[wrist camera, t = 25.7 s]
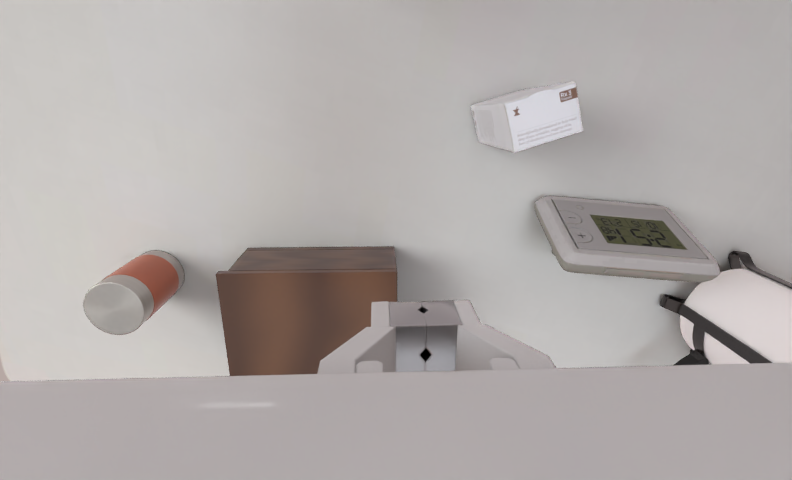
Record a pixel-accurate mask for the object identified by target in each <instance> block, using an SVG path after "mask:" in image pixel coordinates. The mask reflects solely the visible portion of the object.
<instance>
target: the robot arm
mask: <svg viewBox="0 0 792 480" xmlns="http://www.w3.org/2000/svg"><path fill="white" fill-rule="evenodd" d="M0 480H792V363H753V364H711V365H670V366H628V367H587V368H556V366H555V365H554V363H553V362H552V360H551V359H550V357H549V356H548V355H546V354H544V353H542V352H540V351H538V350H536V349H534V348H532V347H530V346H528V345H526V344H524V343H522V342H520V341H518V340H516V339H514V338H512V337H510V336H508V335H506V334H504V333H502V332H500V331H498V330H496V329H494V328H492V327H490V326H488V325H481V322H480V320H479V318H478V316H477V314H476V312H475V310H474V308H473V306H472V304H471V302H470V301H469V300H458V301H453V300H448V301H423V302H388V301H382V302H372V303H371V327H366V328H365V329H363V330H362V331H360V332H359V333H358V334H356V335H355V336H354V337H352V338H351V339H349V340H348V341H347V342H345V343H344V344H343V345H341V346H340V347H338V348H337V349H336V350H334V351H333V352H332V353H330V354H329V355H328V356H326V357H325V358H323V359H322V360H321V361H320V364H319V368H318V372H317V374H293V375H251V376H210V377H168V378H127V379H86V380H45V381H4V382H0Z"/></svg>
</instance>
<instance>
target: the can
mask: <svg viewBox="0 0 792 480" xmlns="http://www.w3.org/2000/svg"><path fill="white" fill-rule="evenodd" d="M183 281H184V271H183V268H182V266H181V264H180V263H179V261H178V260H177V259H176V258H175V257H173V256H172V255H170V254H169V253H166V252H163V251H157V250H154V251H148V252H145V253H143V254H142V255H140V256H139V257H136V258H135V259H133V260H132V261H130V262H129V263H127V264H126V265H124V266H123V267H121V268H119V269H118V270H116V271H115V272H113V273H112V274H110V275H109V276H107V277H106V278H104V279H103V280H102V281H101V282H99V283H98V284H96V285H95V286H93V287H92V288H90V289H89V290H88V292H87V293H86V295H85V298H84V302H83V306H84V311H85V314H86V316H87V317H88V319H89V320H90V322H91V323H92V324H93V325H94V326H96V327H97V328H98V329H100V330H102V331H104V332H107V333H110V334H115V335H123V334H128V333H131V332H133V331H135V330H136V329H138V328H139V327H140V326H141V325H142V324H143V323H144V322H145V321H146V320H148V319H149V318H150V317H151V316H152V315H153V314H154V313H155V312H156V311H157V310H158V309H159V308H160V307H161V306H162V305H163V304H164V303H166V302H167V301H168V300H169V299H170V298H171V297H172V296H173V295H174V294H175V292H176V291H177V290H178V289H179V288H180V287H181V286H182V284H183Z"/></svg>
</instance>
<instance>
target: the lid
mask: <svg viewBox="0 0 792 480" xmlns="http://www.w3.org/2000/svg"><path fill="white" fill-rule="evenodd" d="M216 279H217V286H218V293H219V300H220V307H221V315H222V322H223V329H224V336H225V343H226V350H227V358H228V365H229V372H230V376H251V375H293V374H317V372H318V368H319V364H320V361H321V360H322V359H323V358H325V357H326V356H328V355H329V354H330V353H332V352H333V351H334V350H336V349H337V348H338V347H340V346H341V345H343V344H344V343H345V342H347V341H348V340H349V339H351V338H352V337H354V336H355V335H356V334H358V333H359V332H360V331H362V330H363V329H365V328H366V327H371V303H372V302H382V301H388V302H397V269H373V270H284V271H218V272H217V274H216Z"/></svg>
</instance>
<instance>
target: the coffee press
mask: <svg viewBox="0 0 792 480" xmlns="http://www.w3.org/2000/svg"><path fill="white" fill-rule="evenodd" d="M739 258H740V259H741V261H742V263H743V264H744V265H745V266H746V267H747V268H748V269H742V268H741V264H740V261H739ZM728 259H729V263H730V267H731V270H726V271H723V272H720V274H719V276H717V277H716V278H714V279H713V280H710V281H705V282H702V283H700V284H699V285H698V286H697V287H696V288H695V289H694V290H693V291H692V292H691V294H690V295H689V296H688V298H687V299H686V300H683V299H680V298H677V297H674V296H671V295H667V294H664V295H663V297H662V300H661V303H660V306H662V307H664V308H666V309H669V310H671V311H673V312H676V313H678V314H680V329H681V333H682V335H683V338H684V340H685V341H686V343H687V344H688V345H689V346H690V348H691V350H690V354H689V355H687V356H686V357H684V358H683V359H681V360H680V361H678V362H677V363H676V364H674V365H710V364H753V363H792V284H791V283H789V282H787V281H785V280H782V279H780V278H778V277H776V276H773V275H771V274H769V273H767V272H765V271H763V270H761V269H759V268H757V267H756V266H755V265H754V263H753V261H752V259H751V257H750V255H749V254H748V253H746V252H739V251H732V252H731V253H730V254H729V257H728ZM709 363H710V364H709Z"/></svg>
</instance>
